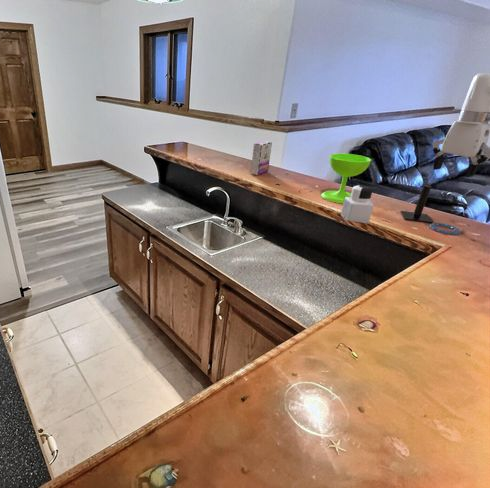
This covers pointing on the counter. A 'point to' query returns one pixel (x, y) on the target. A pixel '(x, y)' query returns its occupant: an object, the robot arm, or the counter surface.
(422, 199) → the stand
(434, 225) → the ring
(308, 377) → the counter surface
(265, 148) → the candy bar box
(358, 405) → the counter surface
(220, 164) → the counter surface
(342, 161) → the wineglass
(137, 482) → the counter surface
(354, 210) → the container
